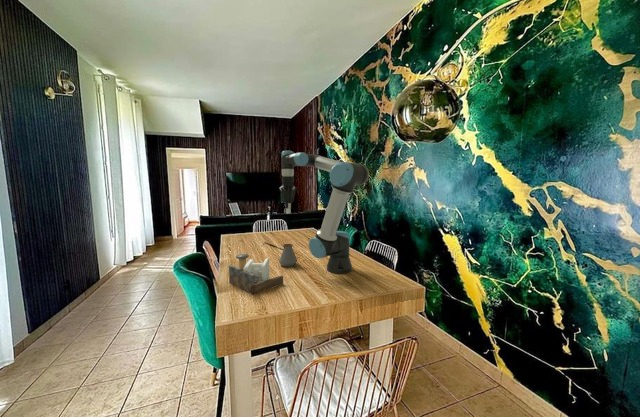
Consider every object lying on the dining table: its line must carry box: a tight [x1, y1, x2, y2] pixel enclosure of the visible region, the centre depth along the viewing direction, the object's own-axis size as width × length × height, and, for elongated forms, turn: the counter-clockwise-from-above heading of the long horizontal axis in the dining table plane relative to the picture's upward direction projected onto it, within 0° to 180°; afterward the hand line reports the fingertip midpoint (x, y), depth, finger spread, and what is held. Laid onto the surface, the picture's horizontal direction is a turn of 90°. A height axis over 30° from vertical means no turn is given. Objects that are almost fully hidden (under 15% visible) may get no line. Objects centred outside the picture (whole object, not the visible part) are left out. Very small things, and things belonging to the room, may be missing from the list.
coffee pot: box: [262, 241, 298, 268], centre depth 165 cm, size 21×12×15 cm, turn 93°
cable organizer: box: [243, 257, 270, 283], centre depth 134 cm, size 15×11×12 cm
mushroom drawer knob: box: [235, 253, 249, 272], centre depth 151 cm, size 7×7×10 cm
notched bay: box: [228, 264, 284, 295], centre depth 134 cm, size 22×18×9 cm
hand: (288, 213), depth 166 cm, fingers closed
